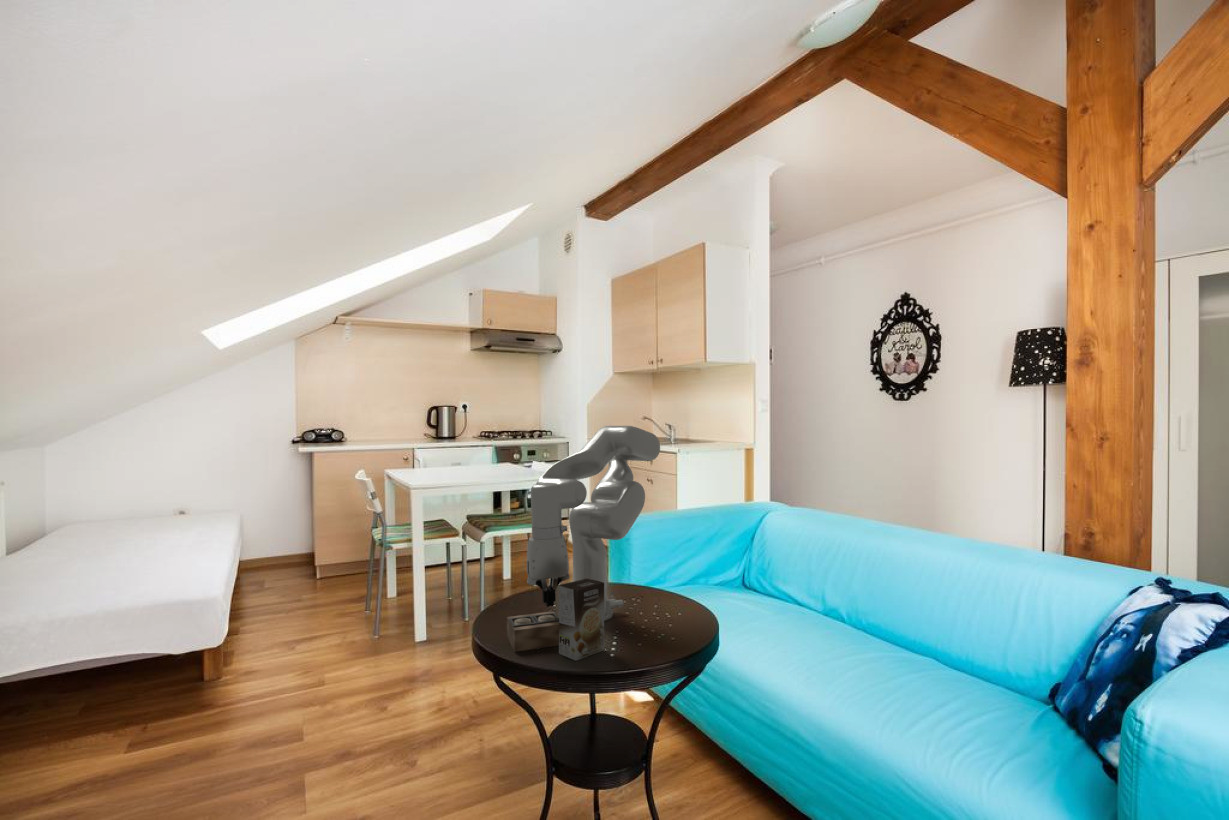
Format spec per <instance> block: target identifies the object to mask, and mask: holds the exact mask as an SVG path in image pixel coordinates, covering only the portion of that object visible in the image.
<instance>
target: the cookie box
mask: <svg viewBox="0 0 1229 820" xmlns="http://www.w3.org/2000/svg"><path fill="white" fill-rule="evenodd" d="M558 586H559V596H558V597H559V604H558V605H559V606H558V607H559V611H558V612H559V613H558V614H559V615H558V617H559V645H558V654H559V655H561V656H563V657H565V658H568V659H571V660H573V661H575V662H576V661H579V660H583V659H584V658H587V657H590V656H592V655H595V654H597V653H600V652H602V651H604V650H605V621H604V583H603V582H600V581H597V580H591V579H583V580H578V581H574V582H573V581H570V582H568V583H567V582H566V583H563V584H559V585H558Z"/></svg>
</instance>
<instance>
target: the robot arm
mask: <svg viewBox="0 0 1229 820" xmlns="http://www.w3.org/2000/svg"><path fill="white" fill-rule="evenodd" d="M660 451H661V442H660V441H659V438H658V436H656V434H654V433H652V432H651V431H647V430H645V429H642V428H640V427H637V426H633V425H606V426H602V427H600V428H599V429H598V430H597V431H596V432H595V433H594V434H593V435H592V436H591V438H590V439H589V440H588V441H587V442H586V443H585V445H584V446H583V447H582V448H581V449H580V450H579V451H577V452H575V453H574V454H571V455H569V456H567V457H565V458H562V459H561V460H559V461H557V462H556V463H553V464H552V465H550V466H549V467H548V468H547V470H545V472H544V473H542V475H541V476H540V477H539V479H538V480H537V481H536V483H535V484H534V485H532V486H531V488H530V504H531V505H530V509H531V511H530V512H531V514H530V515H531V537H529V538H528V540H527V541H528V542H527V548H526V549H527V550H526V551H527V552H526V575H527V580H526V583H527V585H532V586H538V587H539V588H540V589H541V593H542V603H543V604H545V606H546V607H547V608H549V607H554V606H555V605H554V604H555V603H554V602H556V590H557V589H558V586H559V585H561V583H562V582H564V581H566V580H569V579H570V574H569V572H570V565H569V563H570V562H569V556H568V555H569V553H568V548H567V541H566V538H565V537H566V536H565V535H563V533H564V532H568V525H563V523H562V522H563V521H562V520H563V519H562V510H566V509H571V510H570V513H569V517H568V523H569V530H570V535H571V540H572V542H571V543H572V582H574V581H578V580H583V579H591V580H597V581H600V582H603V583H604V622H605V621H608V620H610V619H611V618H612V617H613V609H614V608H621V607H624V605H625V604H624V600H623V599H616V598H611V599H610V598H608V587H607V586H608V582H607V581H608V576H607V575H608V572H607V570H608V569H607V567H608V563H607V562H608V558H607V557H608V556H607V554H608V553H607V548H606V546H605V544H604V541H603V539H604V540H611V541H612V540H613V541H617V540H618V541H619V540H621V539H623V538H624V537H626V536H627V534H628V533H629V532H630V530H631V529H632V527H633V525H634V524H635V522H636V521H637V519H638V517H639V516H640V515H641V513H642V510H643V508H644V507H645V501H646V493H645V489H644V487H643V485H642V484H641V483H640V482H638V481H635V480H634V474H633V473H634V472H633V471H632V468H631V467H630V466H629V464H628V461H632V462H633V461H636V462H639V461H640V462H652V461H654V460H655V459H657V458H658V456H659V455H660ZM607 465H608V468H607V471H606V472H605V473H604V475H603V476H602V477H601V478H600V480H599V481H598V483H597V484H596V485H595V487H594V488H593V490H592V492H591V495H590V502H589V501H586V502H585V500H586V498H587V496H588V495H587V494H588V493H587V487H586V486H585V484H584V483H583V482H582V481H580V480H583V479H588V478H591V477H594V476H596V475H599V474H600V473H601V472H603V470H604V469H605V468H606V467H607ZM548 579H549V584H548V582H547V580H548Z"/></svg>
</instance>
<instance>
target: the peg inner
mask: <svg viewBox="0 0 1229 820" xmlns="http://www.w3.org/2000/svg"><path fill="white" fill-rule="evenodd" d="M538 620H539V622H542V621H550V620H555V617H554V616H552V615H543V616H540V617H539V618H538Z"/></svg>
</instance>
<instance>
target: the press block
mask: <svg viewBox="0 0 1229 820" xmlns="http://www.w3.org/2000/svg"><path fill="white" fill-rule="evenodd" d="M543 615H552V616H554V617H555V620H550V621H542V622H539V620H538V618H539V617H540V616H543ZM520 618H528V619H530V620H531V623H527V624H519V625H515V620H517V619H520ZM506 638H507V640H508V642H509V645H510V646H511V648H512V650H513V652H514V653H515V652H522V651H529V650H536V649H543V648H548V647H549V648H550V647H556V646H559V615H557V613H556V612H554V611H553V610H552V611H544V612H536V613H530V614H529V613H528V614H521V615H515V616H514V615H513V616H507V617H506Z"/></svg>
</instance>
